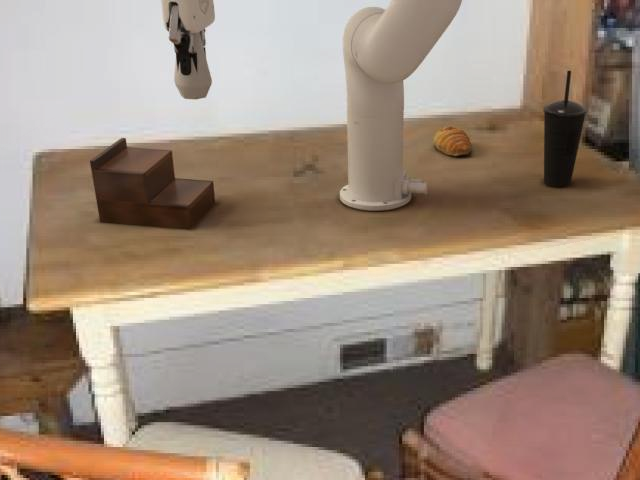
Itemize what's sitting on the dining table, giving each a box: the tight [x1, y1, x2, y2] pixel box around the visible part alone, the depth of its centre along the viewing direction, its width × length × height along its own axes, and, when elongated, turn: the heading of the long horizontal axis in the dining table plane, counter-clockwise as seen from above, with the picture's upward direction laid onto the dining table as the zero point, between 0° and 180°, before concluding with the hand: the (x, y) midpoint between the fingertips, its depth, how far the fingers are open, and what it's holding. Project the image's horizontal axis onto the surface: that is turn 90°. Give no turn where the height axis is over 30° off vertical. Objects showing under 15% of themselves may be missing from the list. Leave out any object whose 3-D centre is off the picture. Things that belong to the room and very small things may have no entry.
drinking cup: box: [542, 70, 588, 188], centre depth 165 cm, size 8×8×20 cm
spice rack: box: [89, 137, 216, 230], centre depth 156 cm, size 16×12×11 cm
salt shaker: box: [173, 27, 213, 100], centre depth 143 cm, size 6×6×13 cm
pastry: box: [433, 125, 472, 157], centre depth 185 cm, size 9×7×4 cm
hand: (192, 74), depth 145 cm, fingers closed on salt shaker, 3 cm apart
